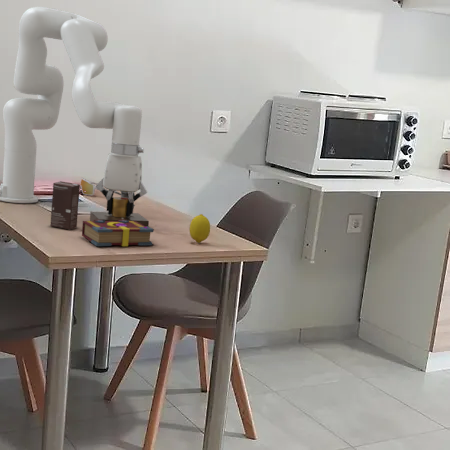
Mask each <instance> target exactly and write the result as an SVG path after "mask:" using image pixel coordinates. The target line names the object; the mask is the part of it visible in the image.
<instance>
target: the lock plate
mask: <svg viewBox="0 0 450 450" xmlns="http://www.w3.org/2000/svg"><path fill="white" fill-rule="evenodd" d="M94 220H103V221H117V220H126V221H136V222H138V223H140V224H142V225H144V226H146V227H147V226H148V227H149V224H150V220H148V219H147V218H145V217H144V216H143V215H141V214H140V213H138V212H133V214H131V216H129V217H124V218H121V217H114V216H112V214H110V215H109V214H108V211H90V213H89V221H94Z"/></svg>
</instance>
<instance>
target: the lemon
mask: <svg viewBox="0 0 450 450" xmlns="http://www.w3.org/2000/svg"><path fill="white" fill-rule="evenodd" d="M188 232H189V235H190V237H191V239H192V240H193V241H195V242H196V243H197V244H201V242H203V241H206V240H207V239H208V238H209V236H210V233H211V222H210V220H209V218H207V217H206V216H205V215H204V214H203V213H199V215H196V216H194V217H193V218H192V219H191V221H190V224H189V231H188Z"/></svg>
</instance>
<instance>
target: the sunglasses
mask: <svg viewBox="0 0 450 450" xmlns="http://www.w3.org/2000/svg"><path fill="white" fill-rule="evenodd" d="M98 183H99V182H94V181H90V180H87V179H86V178H83V177H81V181H80V184H79V185H80V189H82V190H83V191H82V190H80V191H79V192H80V193H82V195H84V196H89V197H90V196H95V193H96V190H98V189H97V188H96V185H97V184H98ZM103 187H104V186H103ZM105 189H106V188H105ZM106 190H107V191H108V190H109V189H106ZM84 191H86V192H84ZM98 191H99V190H98ZM114 194H116V195H117V196H118V195H119V196H121V192H120V191H116V190H115V191H114Z"/></svg>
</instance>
